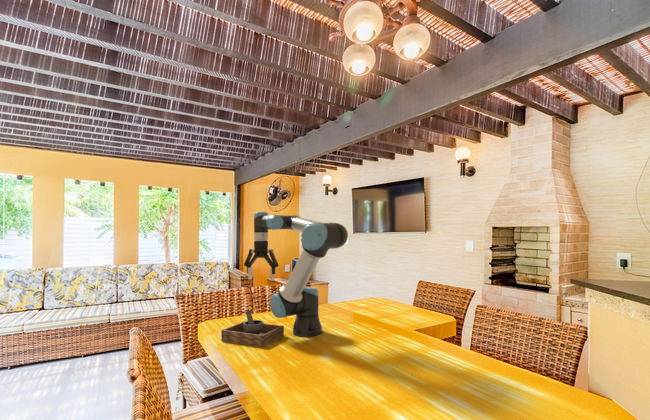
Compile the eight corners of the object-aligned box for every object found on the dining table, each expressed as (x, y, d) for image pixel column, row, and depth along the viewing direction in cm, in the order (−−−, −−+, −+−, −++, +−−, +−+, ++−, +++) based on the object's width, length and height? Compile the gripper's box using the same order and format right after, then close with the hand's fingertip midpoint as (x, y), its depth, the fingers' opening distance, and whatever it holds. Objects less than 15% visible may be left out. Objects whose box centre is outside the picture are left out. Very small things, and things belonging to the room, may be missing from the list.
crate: (283, 336, 175) (283, 325, 175) (262, 347, 159) (262, 336, 159) (244, 330, 185) (244, 321, 185) (221, 340, 169) (221, 330, 169)
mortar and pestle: (266, 336, 171) (266, 312, 172) (249, 341, 165) (249, 315, 166) (255, 332, 180) (255, 308, 180) (238, 335, 173) (238, 311, 174)
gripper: (284, 240, 189) (284, 279, 188) (245, 240, 198) (245, 277, 197) (278, 240, 182) (278, 282, 181) (237, 240, 191) (237, 279, 190)
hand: (261, 279), depth 189 cm, fingers open, 13 cm apart
